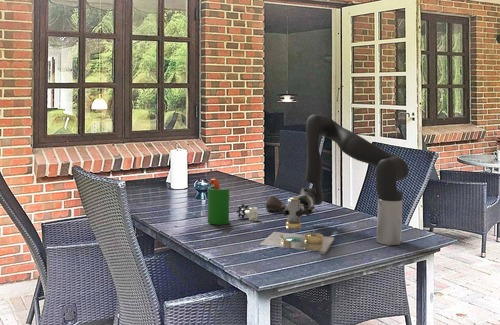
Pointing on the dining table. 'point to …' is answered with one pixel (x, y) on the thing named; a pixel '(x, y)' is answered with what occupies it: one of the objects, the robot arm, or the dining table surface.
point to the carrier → (300, 241)
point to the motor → (218, 204)
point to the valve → (248, 212)
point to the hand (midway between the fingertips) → (291, 213)
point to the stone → (273, 204)
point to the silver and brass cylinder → (293, 214)
